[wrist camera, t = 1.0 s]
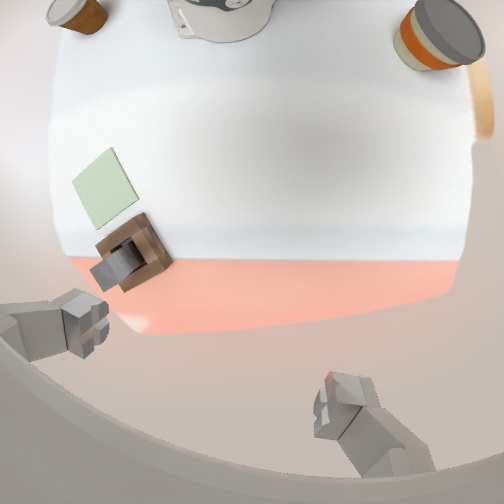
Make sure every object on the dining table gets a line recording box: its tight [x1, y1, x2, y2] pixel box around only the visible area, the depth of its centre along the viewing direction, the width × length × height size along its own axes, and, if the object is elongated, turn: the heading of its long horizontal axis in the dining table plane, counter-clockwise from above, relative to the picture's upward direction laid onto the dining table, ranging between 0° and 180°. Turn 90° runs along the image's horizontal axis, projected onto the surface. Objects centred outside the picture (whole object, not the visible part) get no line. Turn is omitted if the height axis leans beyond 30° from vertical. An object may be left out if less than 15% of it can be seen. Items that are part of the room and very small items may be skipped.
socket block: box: [95, 213, 173, 293], centre depth 44 cm, size 10×10×4 cm
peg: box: [90, 240, 145, 292], centre depth 41 cm, size 4×4×12 cm
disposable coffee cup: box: [46, 0, 107, 35], centre depth 26 cm, size 10×10×12 cm
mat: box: [72, 147, 139, 230], centre depth 43 cm, size 11×11×1 cm
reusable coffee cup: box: [394, 0, 485, 71], centre depth 25 cm, size 13×13×15 cm
